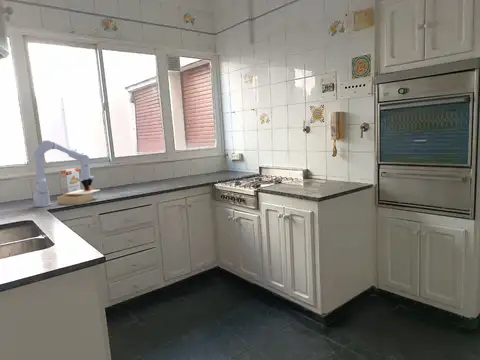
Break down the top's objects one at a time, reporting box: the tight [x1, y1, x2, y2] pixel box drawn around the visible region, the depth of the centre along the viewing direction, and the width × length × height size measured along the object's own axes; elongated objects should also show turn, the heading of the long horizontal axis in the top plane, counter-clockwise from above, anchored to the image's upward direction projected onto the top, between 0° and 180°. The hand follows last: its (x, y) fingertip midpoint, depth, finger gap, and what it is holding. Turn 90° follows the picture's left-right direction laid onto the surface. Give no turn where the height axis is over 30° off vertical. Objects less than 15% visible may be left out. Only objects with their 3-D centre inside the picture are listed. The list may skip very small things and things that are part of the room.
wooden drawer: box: [56, 193, 94, 205], centre depth 231 cm, size 17×14×5 cm
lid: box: [66, 184, 101, 194], centre depth 238 cm, size 18×14×4 cm
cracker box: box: [59, 167, 82, 196], centre depth 256 cm, size 14×6×21 cm, turn 168°
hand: (87, 189), depth 243 cm, fingers closed on lid, 2 cm apart
